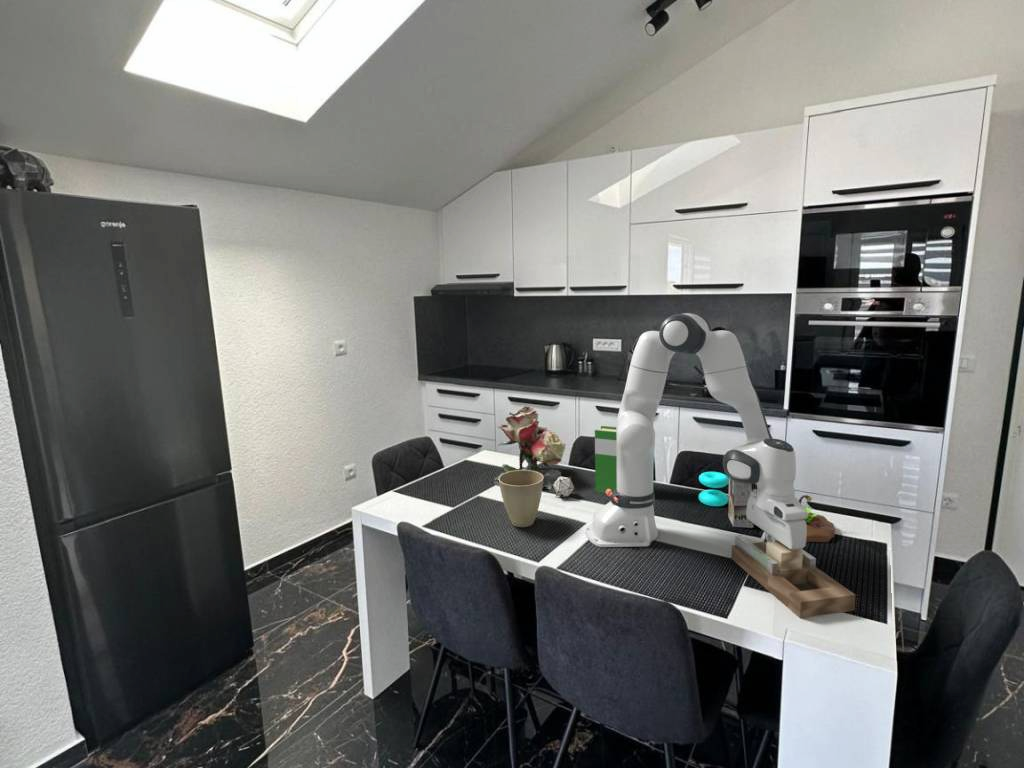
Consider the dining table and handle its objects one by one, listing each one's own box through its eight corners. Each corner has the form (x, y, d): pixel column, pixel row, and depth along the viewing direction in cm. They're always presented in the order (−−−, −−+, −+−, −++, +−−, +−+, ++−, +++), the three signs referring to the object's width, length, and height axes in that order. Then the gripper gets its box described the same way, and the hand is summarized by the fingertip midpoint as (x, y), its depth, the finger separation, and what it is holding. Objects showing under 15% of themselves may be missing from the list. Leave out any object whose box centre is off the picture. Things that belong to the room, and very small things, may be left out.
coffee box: (754, 528, 170) (756, 479, 167) (732, 527, 171) (734, 478, 168) (747, 516, 178) (749, 469, 176) (727, 515, 180) (728, 469, 177)
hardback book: (595, 491, 206) (594, 430, 202) (602, 485, 212) (601, 425, 208) (641, 498, 197) (641, 434, 193) (646, 491, 203) (647, 430, 199)
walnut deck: (799, 618, 124) (800, 602, 123) (731, 558, 151) (731, 545, 151) (854, 610, 126) (855, 594, 125) (776, 553, 153) (777, 540, 153)
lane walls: (771, 575, 135) (772, 563, 134) (735, 545, 151) (735, 535, 150) (815, 569, 136) (816, 558, 136) (774, 540, 153) (774, 530, 152)
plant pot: (493, 519, 183) (490, 475, 181) (531, 510, 190) (529, 467, 187) (513, 536, 170) (511, 488, 168) (553, 525, 177) (552, 479, 174)
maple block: (780, 571, 136) (781, 553, 135) (765, 560, 142) (766, 542, 141) (801, 568, 137) (802, 550, 136) (786, 557, 143) (787, 539, 142)
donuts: (727, 471, 193) (730, 481, 183) (727, 497, 195) (729, 508, 185) (698, 469, 196) (699, 479, 186) (697, 495, 197) (699, 506, 188)
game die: (568, 505, 203) (584, 484, 201) (558, 505, 196) (575, 483, 194) (552, 489, 208) (568, 469, 206) (542, 488, 200) (558, 467, 199)
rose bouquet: (562, 491, 207) (560, 415, 202) (489, 487, 215) (486, 413, 210) (573, 470, 231) (571, 401, 226) (507, 466, 239) (505, 400, 234)
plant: (842, 547, 156) (844, 510, 154) (768, 539, 163) (769, 504, 161) (826, 519, 175) (829, 486, 173) (760, 513, 181) (762, 481, 179)
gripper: (741, 487, 151) (739, 533, 154) (789, 517, 131) (786, 569, 134) (761, 485, 152) (759, 531, 155) (812, 514, 132) (809, 566, 135)
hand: (772, 549), depth 144 cm, fingers closed
